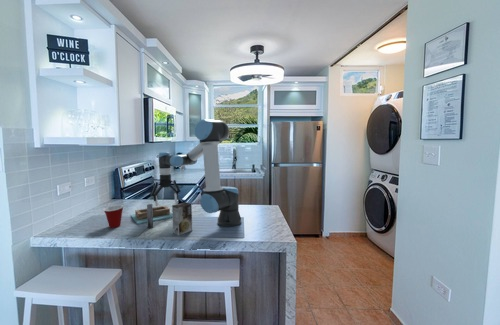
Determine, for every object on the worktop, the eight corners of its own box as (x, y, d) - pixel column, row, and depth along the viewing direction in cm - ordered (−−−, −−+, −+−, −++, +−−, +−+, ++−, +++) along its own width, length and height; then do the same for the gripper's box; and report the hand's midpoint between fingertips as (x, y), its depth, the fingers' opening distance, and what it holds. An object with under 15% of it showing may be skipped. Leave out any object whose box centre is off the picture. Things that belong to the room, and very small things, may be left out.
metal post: (153, 227, 142) (152, 204, 141) (148, 228, 140) (147, 205, 139) (152, 226, 145) (151, 203, 143) (147, 227, 143) (146, 204, 142)
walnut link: (169, 214, 165) (169, 208, 164) (138, 220, 153) (138, 214, 152) (165, 210, 173) (165, 205, 172) (135, 216, 161) (135, 210, 160)
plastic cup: (106, 224, 147) (105, 205, 146) (125, 222, 151) (124, 204, 150) (102, 230, 137) (101, 210, 136) (123, 228, 141) (122, 208, 140)
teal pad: (175, 217, 162) (175, 215, 162) (137, 224, 147) (137, 222, 147) (165, 210, 178) (165, 209, 178) (130, 216, 163) (130, 214, 163)
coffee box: (185, 228, 142) (185, 201, 140) (192, 230, 138) (192, 203, 136) (172, 232, 135) (171, 205, 133) (179, 235, 131) (178, 207, 129)
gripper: (180, 172, 176) (181, 200, 178) (144, 175, 161) (146, 205, 163) (184, 173, 170) (185, 202, 172) (147, 176, 155) (149, 208, 157)
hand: (166, 204), depth 167 cm, fingers open, 13 cm apart
